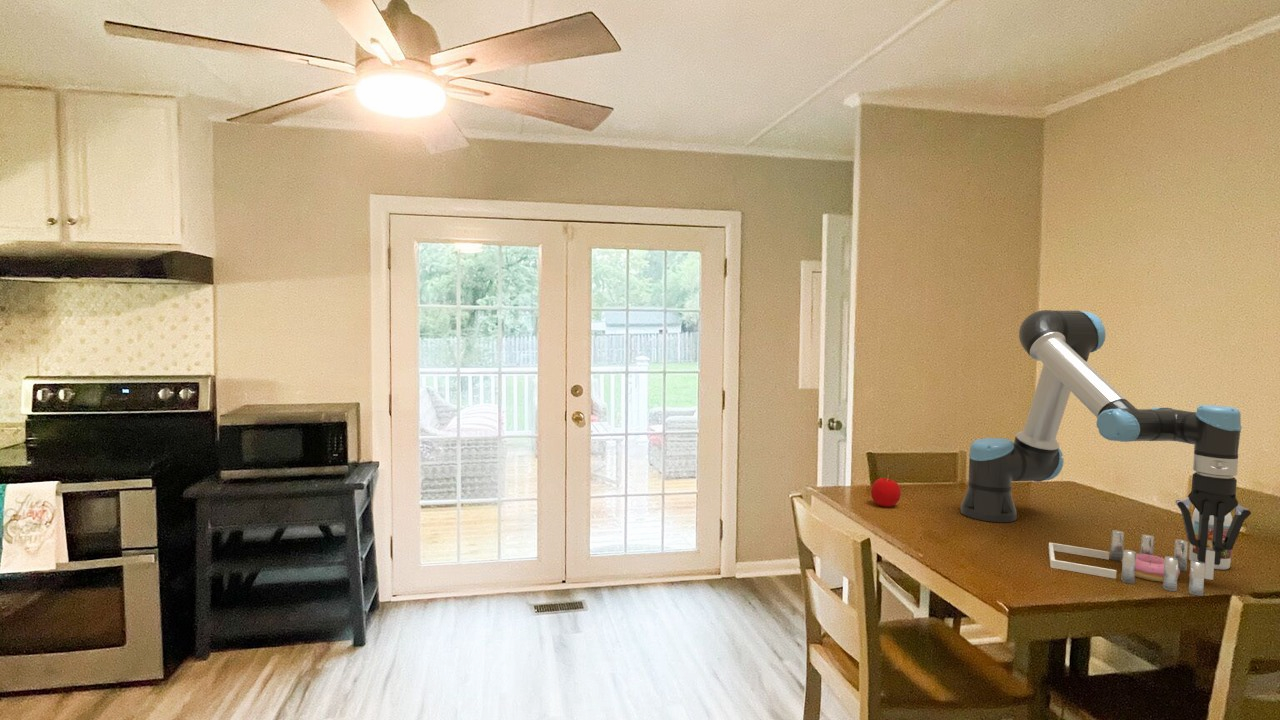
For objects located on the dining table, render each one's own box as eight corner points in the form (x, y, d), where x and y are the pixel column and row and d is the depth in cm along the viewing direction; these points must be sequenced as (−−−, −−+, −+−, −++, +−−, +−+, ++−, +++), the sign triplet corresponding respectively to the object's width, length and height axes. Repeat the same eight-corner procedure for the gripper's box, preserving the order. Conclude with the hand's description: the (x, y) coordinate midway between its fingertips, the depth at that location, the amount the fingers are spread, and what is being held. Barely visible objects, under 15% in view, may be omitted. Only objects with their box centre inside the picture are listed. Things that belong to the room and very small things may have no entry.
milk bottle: (1180, 559, 165) (1185, 480, 164) (1208, 559, 166) (1213, 480, 165) (1209, 570, 158) (1215, 488, 156) (1239, 570, 158) (1244, 488, 157)
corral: (1050, 567, 157) (1051, 560, 157) (1048, 549, 171) (1048, 542, 171) (1116, 578, 151) (1116, 571, 151) (1108, 558, 164) (1109, 551, 164)
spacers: (1119, 581, 149) (1121, 551, 149) (1109, 556, 166) (1111, 529, 165) (1204, 596, 142) (1206, 564, 141) (1185, 568, 158) (1187, 540, 158)
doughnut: (1110, 570, 157) (1111, 553, 157) (1138, 564, 161) (1139, 547, 161) (1161, 587, 147) (1163, 569, 147) (1190, 580, 151) (1191, 563, 151)
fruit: (904, 509, 206) (906, 478, 205) (875, 509, 206) (877, 477, 205) (893, 501, 215) (895, 471, 215) (866, 501, 215) (867, 471, 215)
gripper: (1180, 473, 148) (1174, 576, 149) (1258, 481, 141) (1250, 589, 142) (1174, 467, 154) (1167, 566, 155) (1248, 475, 148) (1240, 578, 149)
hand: (1207, 577), depth 149 cm, fingers closed
